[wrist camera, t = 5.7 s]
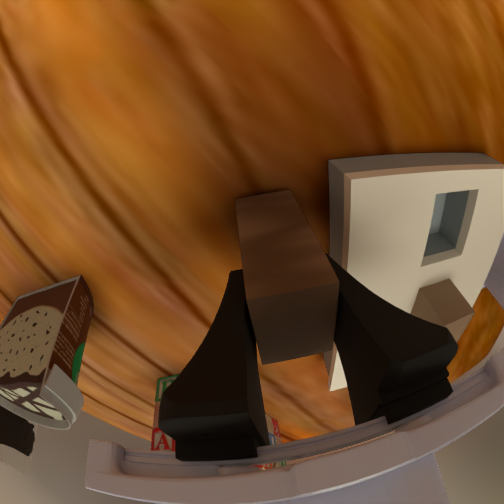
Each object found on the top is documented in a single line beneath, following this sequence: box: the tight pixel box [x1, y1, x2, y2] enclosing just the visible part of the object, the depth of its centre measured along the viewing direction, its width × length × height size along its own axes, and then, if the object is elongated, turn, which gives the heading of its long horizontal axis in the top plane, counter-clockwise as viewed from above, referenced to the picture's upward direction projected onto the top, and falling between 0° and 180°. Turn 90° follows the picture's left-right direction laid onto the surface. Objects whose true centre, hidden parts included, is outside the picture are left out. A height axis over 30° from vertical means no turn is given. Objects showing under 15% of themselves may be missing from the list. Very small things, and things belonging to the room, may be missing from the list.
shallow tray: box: [323, 153, 502, 375], centre depth 19 cm, size 14×20×3 cm
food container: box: [0, 275, 94, 430], centre depth 15 cm, size 12×6×10 cm, turn 104°
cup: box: [0, 405, 39, 475], centre depth 16 cm, size 7×7×15 cm
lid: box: [328, 164, 504, 391], centre depth 16 cm, size 15×21×4 cm
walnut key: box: [235, 190, 339, 365], centre depth 13 cm, size 3×4×8 cm
